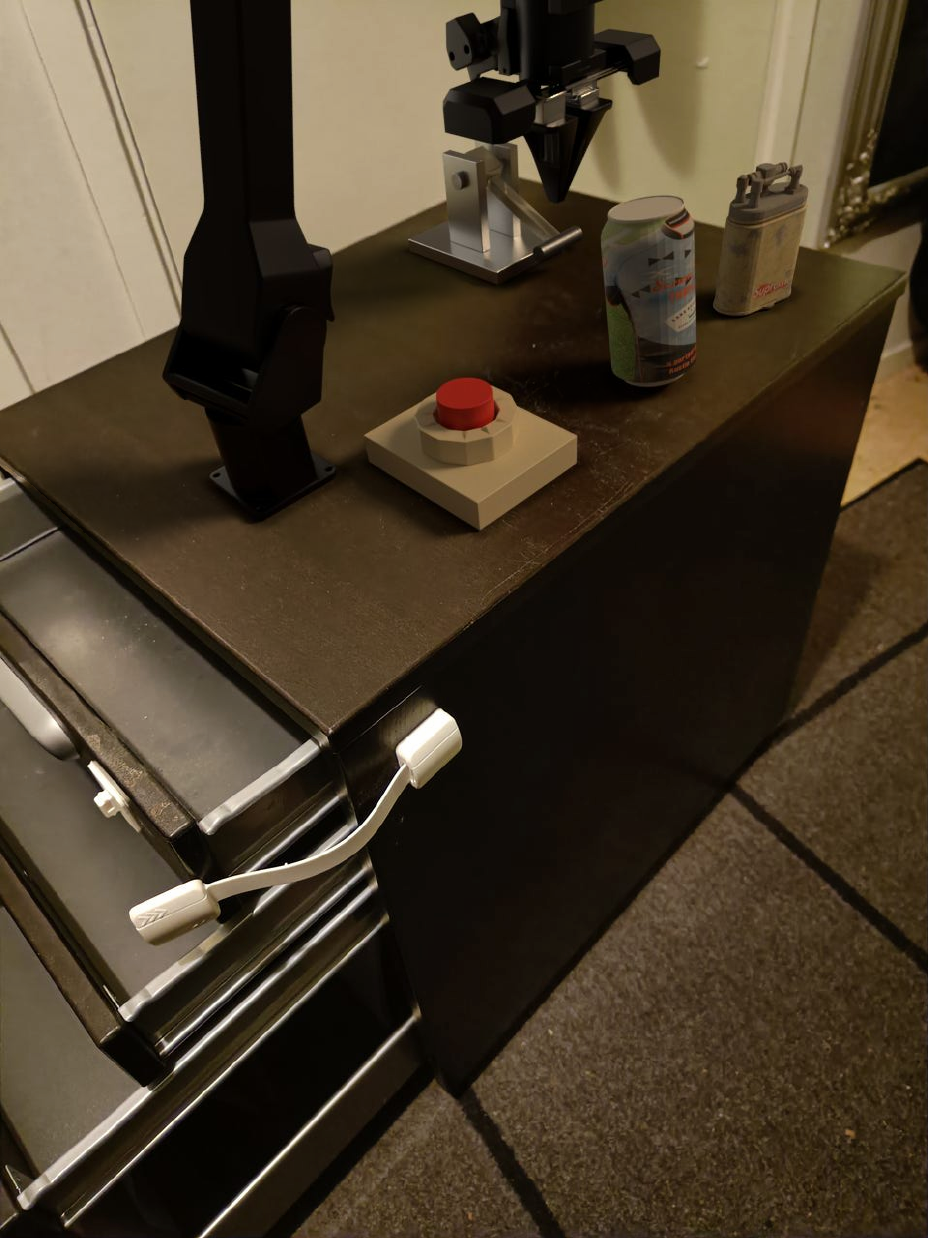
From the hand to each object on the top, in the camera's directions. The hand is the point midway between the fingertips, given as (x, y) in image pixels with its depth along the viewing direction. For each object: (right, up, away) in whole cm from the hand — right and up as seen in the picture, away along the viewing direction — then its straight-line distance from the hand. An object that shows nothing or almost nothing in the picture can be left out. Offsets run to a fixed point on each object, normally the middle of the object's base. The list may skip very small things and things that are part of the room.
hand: (556, 201), depth 69 cm
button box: (-7, -24, -13) cm, 29 cm away
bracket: (-6, 0, +9) cm, 11 cm away
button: (-8, -22, -16) cm, 28 cm away
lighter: (+16, -9, -2) cm, 18 cm away
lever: (-3, +1, +4) cm, 6 cm away
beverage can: (+6, -17, -7) cm, 19 cm away
